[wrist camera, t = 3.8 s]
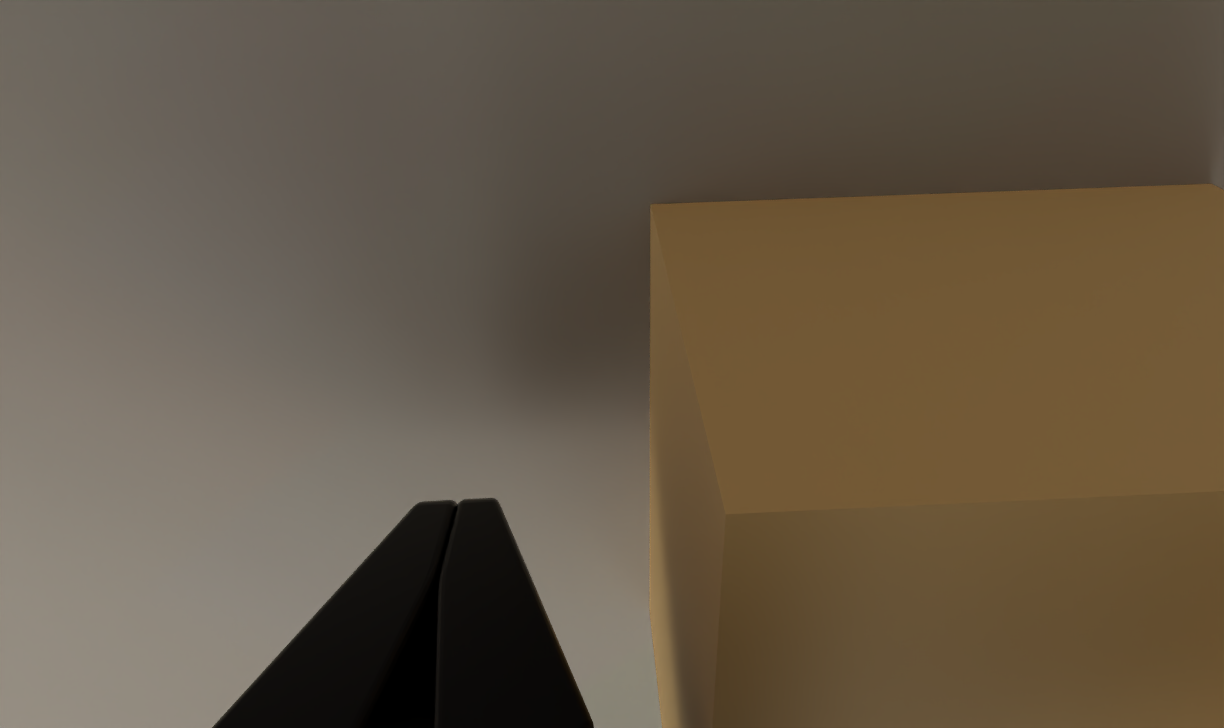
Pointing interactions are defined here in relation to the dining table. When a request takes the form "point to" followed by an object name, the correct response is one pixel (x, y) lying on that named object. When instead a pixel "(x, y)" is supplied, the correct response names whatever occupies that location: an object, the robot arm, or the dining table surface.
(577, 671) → the dining table surface
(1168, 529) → the stepped block
